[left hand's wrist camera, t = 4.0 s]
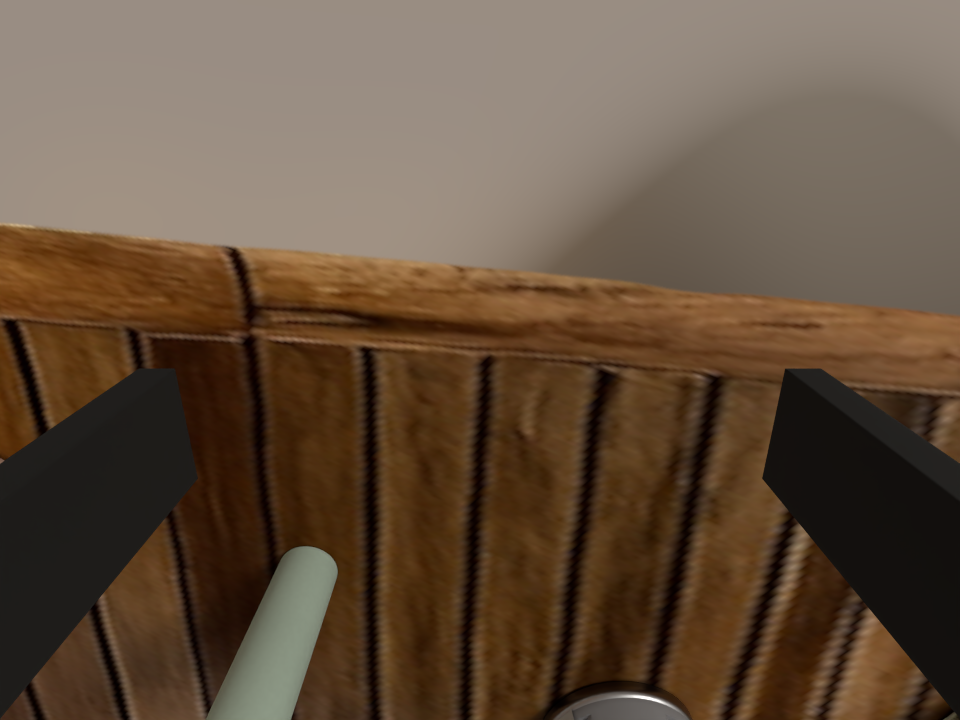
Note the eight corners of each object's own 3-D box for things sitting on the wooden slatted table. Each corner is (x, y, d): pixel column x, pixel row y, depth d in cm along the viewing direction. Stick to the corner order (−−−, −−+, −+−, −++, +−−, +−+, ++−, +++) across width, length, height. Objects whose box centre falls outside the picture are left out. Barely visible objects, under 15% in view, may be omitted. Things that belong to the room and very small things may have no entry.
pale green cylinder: (277, 587, 50) (160, 849, 32) (281, 541, 48) (159, 791, 30) (334, 596, 50) (251, 860, 32) (340, 551, 48) (255, 803, 30)
